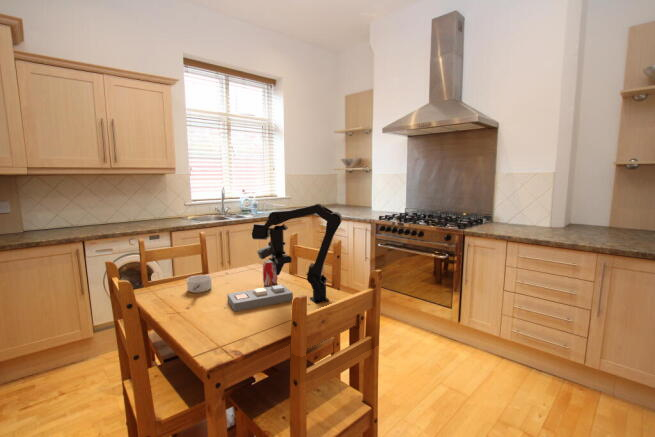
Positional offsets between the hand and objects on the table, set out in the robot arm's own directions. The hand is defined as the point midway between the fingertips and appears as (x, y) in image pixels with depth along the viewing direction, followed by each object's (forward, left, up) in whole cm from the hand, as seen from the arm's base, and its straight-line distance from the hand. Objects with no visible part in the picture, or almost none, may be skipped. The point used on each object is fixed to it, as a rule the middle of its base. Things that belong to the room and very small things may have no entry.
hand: (277, 274), depth 142 cm
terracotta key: (0, +16, -9) cm, 19 cm away
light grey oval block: (+24, +30, -11) cm, 40 cm away
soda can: (+19, -3, -11) cm, 22 cm away
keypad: (0, +8, -11) cm, 13 cm away
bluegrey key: (0, 0, -8) cm, 8 cm away
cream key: (0, +8, -8) cm, 11 cm away
